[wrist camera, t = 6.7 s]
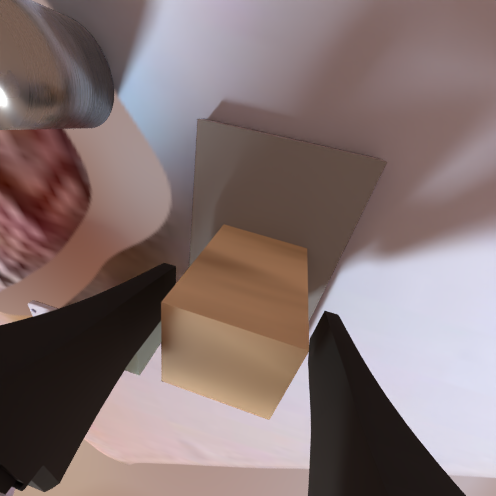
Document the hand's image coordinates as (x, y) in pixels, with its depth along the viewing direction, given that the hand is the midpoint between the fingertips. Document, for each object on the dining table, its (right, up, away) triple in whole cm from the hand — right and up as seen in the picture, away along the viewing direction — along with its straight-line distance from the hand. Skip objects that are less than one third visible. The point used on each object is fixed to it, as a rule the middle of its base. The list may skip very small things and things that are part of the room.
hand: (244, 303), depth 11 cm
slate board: (+1, +2, +3) cm, 4 cm away
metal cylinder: (-8, +11, 0) cm, 14 cm away
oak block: (+1, +1, +2) cm, 3 cm away
